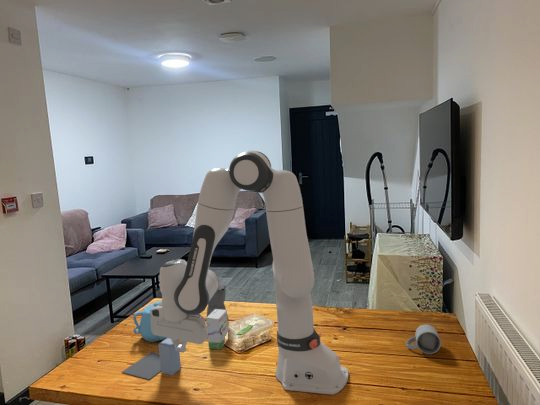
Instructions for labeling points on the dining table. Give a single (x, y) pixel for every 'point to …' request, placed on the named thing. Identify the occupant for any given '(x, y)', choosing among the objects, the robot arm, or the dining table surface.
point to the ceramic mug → (425, 340)
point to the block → (169, 357)
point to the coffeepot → (217, 300)
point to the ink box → (217, 328)
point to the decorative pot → (146, 324)
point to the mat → (145, 366)
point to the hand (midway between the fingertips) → (180, 351)
